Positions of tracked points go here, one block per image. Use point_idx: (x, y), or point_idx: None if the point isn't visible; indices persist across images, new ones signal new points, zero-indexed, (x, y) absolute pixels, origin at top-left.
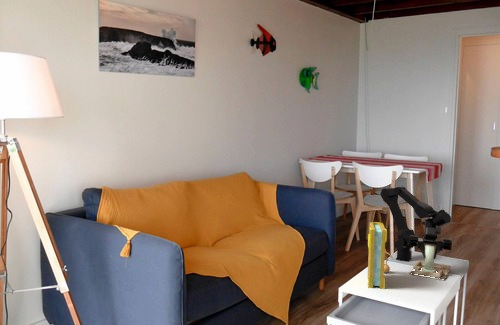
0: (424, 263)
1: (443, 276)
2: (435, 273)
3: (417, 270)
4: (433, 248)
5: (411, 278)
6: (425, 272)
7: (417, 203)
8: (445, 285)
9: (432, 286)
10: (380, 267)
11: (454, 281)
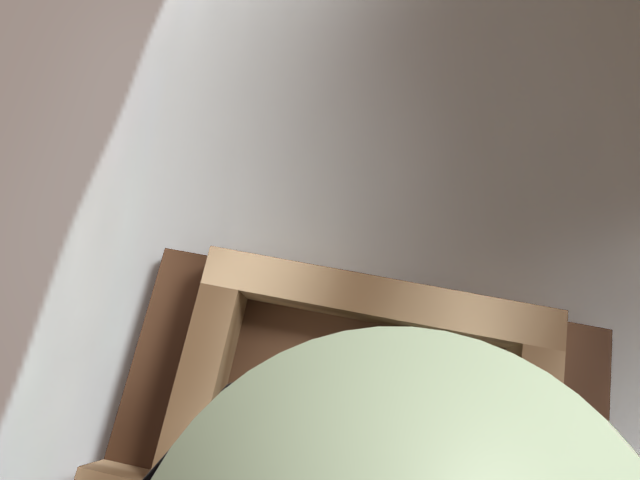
0: None
1: (163, 345)
2: (265, 267)
3: (525, 317)
4: (214, 419)
5: (551, 179)
6: (403, 282)
7: None
8: (182, 87)
9: (315, 8)
10: None
11: (57, 269)
